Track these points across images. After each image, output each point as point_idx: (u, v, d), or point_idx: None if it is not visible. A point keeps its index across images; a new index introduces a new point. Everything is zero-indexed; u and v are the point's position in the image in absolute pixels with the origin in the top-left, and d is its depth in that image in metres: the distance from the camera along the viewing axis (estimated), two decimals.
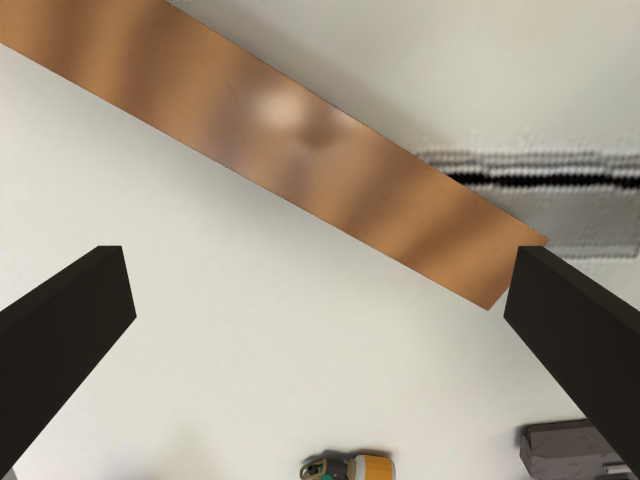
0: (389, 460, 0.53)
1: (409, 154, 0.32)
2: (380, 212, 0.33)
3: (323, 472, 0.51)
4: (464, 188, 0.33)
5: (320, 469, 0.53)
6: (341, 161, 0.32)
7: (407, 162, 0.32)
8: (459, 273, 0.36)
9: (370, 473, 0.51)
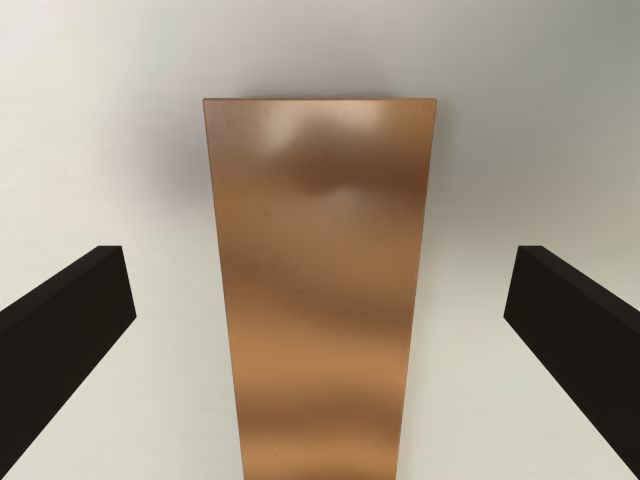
0: None
1: None
2: None
3: None
4: None
5: None
6: None
7: None
8: None
9: None
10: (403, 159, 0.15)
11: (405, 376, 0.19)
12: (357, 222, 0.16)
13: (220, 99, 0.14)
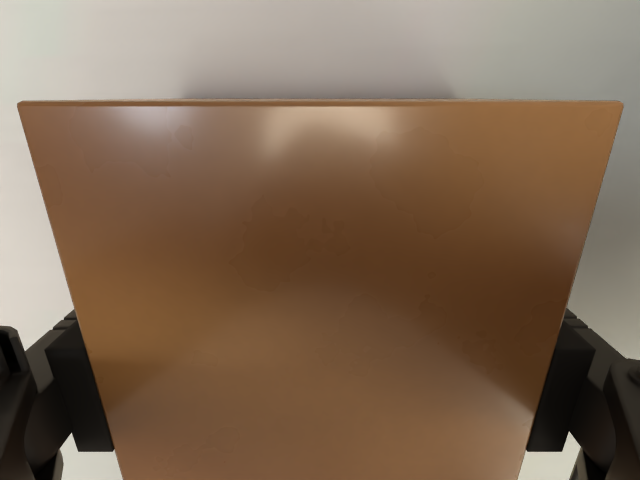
0: None
1: None
2: None
3: None
4: None
5: None
6: None
7: None
8: None
9: None
10: (520, 245, 0.06)
11: None
12: (403, 374, 0.07)
13: (62, 105, 0.05)
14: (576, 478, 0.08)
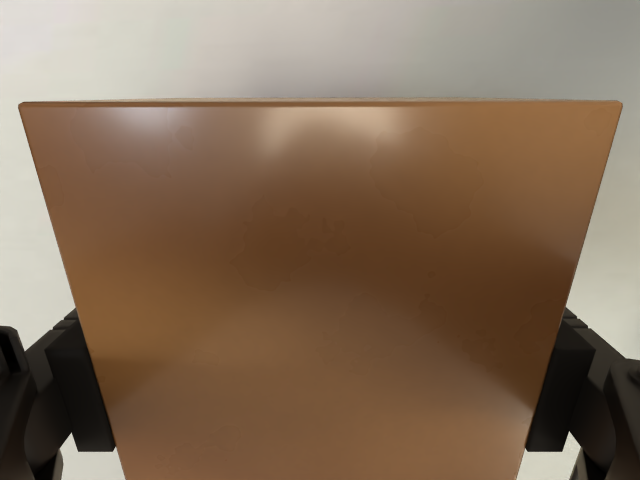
0: None
1: None
2: None
3: None
4: None
5: None
6: None
7: None
8: None
9: None
10: (520, 244, 0.06)
11: None
12: (403, 372, 0.07)
13: (63, 106, 0.05)
14: (576, 478, 0.08)
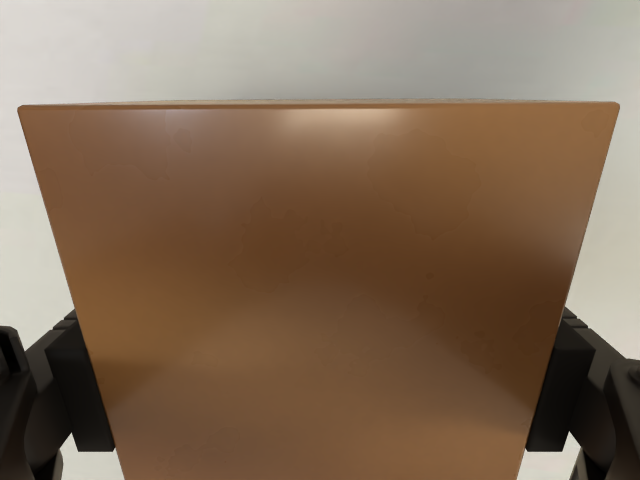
0: None
1: None
2: None
3: None
4: None
5: None
6: None
7: None
8: None
9: None
10: (518, 246, 0.06)
11: None
12: (402, 374, 0.07)
13: (62, 109, 0.05)
14: (576, 478, 0.08)
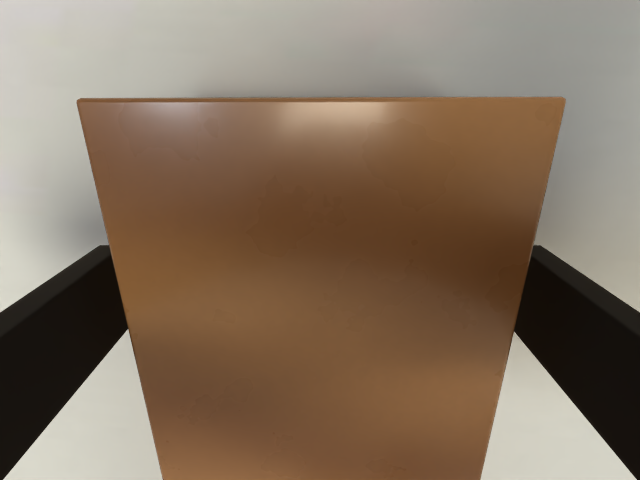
0: None
1: None
2: None
3: None
4: None
5: None
6: None
7: None
8: None
9: None
10: (487, 217, 0.08)
11: None
12: (392, 329, 0.09)
13: (113, 101, 0.07)
14: None
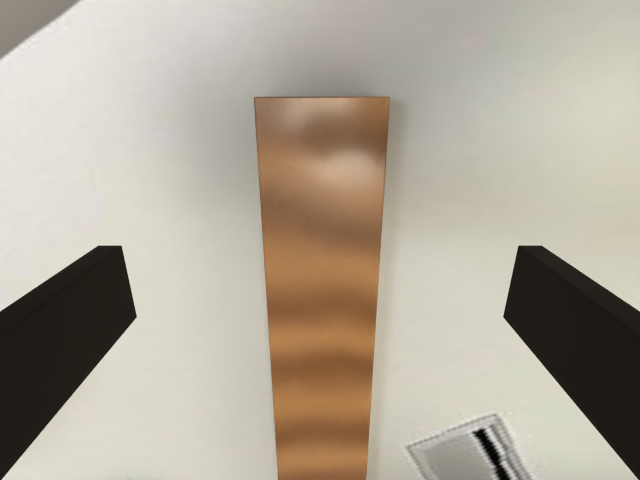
0: None
1: None
2: None
3: None
4: None
5: None
6: None
7: None
8: None
9: None
10: (371, 132, 0.25)
11: (377, 277, 0.29)
12: (344, 172, 0.26)
13: (264, 97, 0.24)
14: None
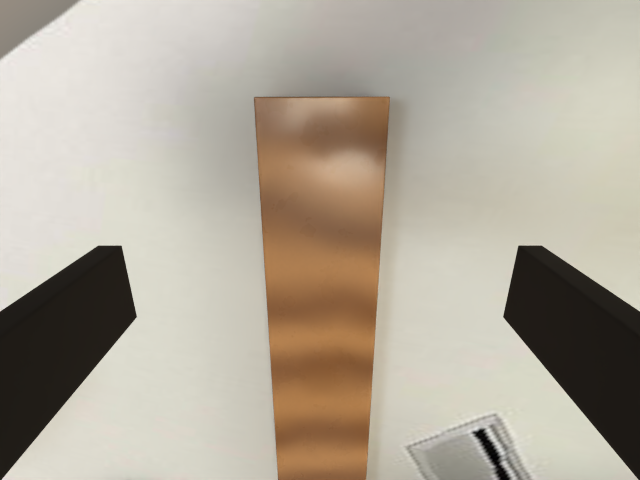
0: None
1: None
2: None
3: None
4: None
5: None
6: None
7: None
8: None
9: None
10: (371, 132, 0.25)
11: (377, 277, 0.29)
12: (344, 172, 0.26)
13: (264, 97, 0.24)
14: None
